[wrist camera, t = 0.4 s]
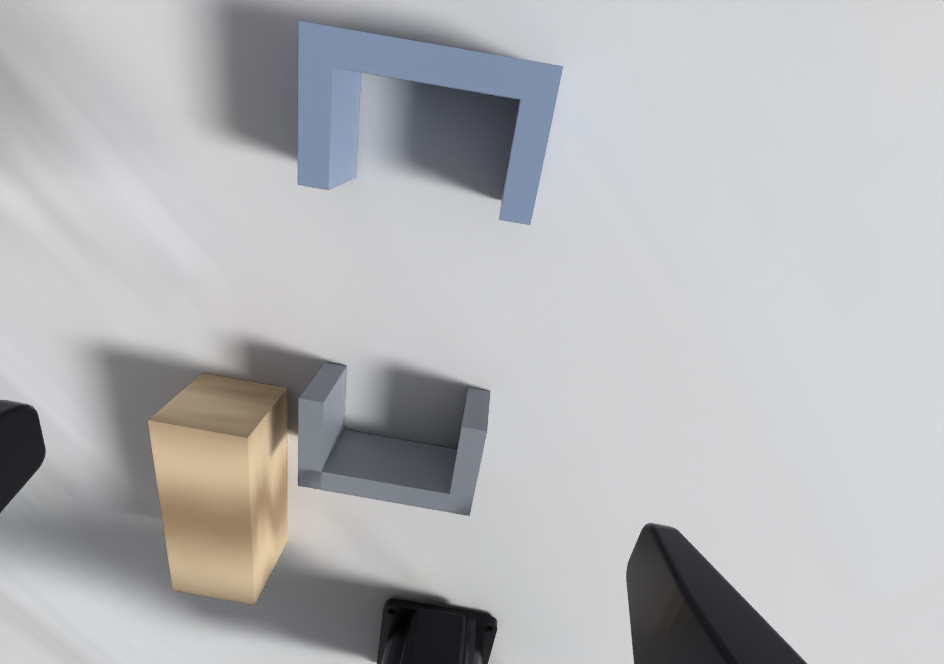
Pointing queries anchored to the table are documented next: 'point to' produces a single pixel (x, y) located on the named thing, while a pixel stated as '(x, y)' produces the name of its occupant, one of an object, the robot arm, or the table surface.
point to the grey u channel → (386, 452)
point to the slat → (222, 485)
